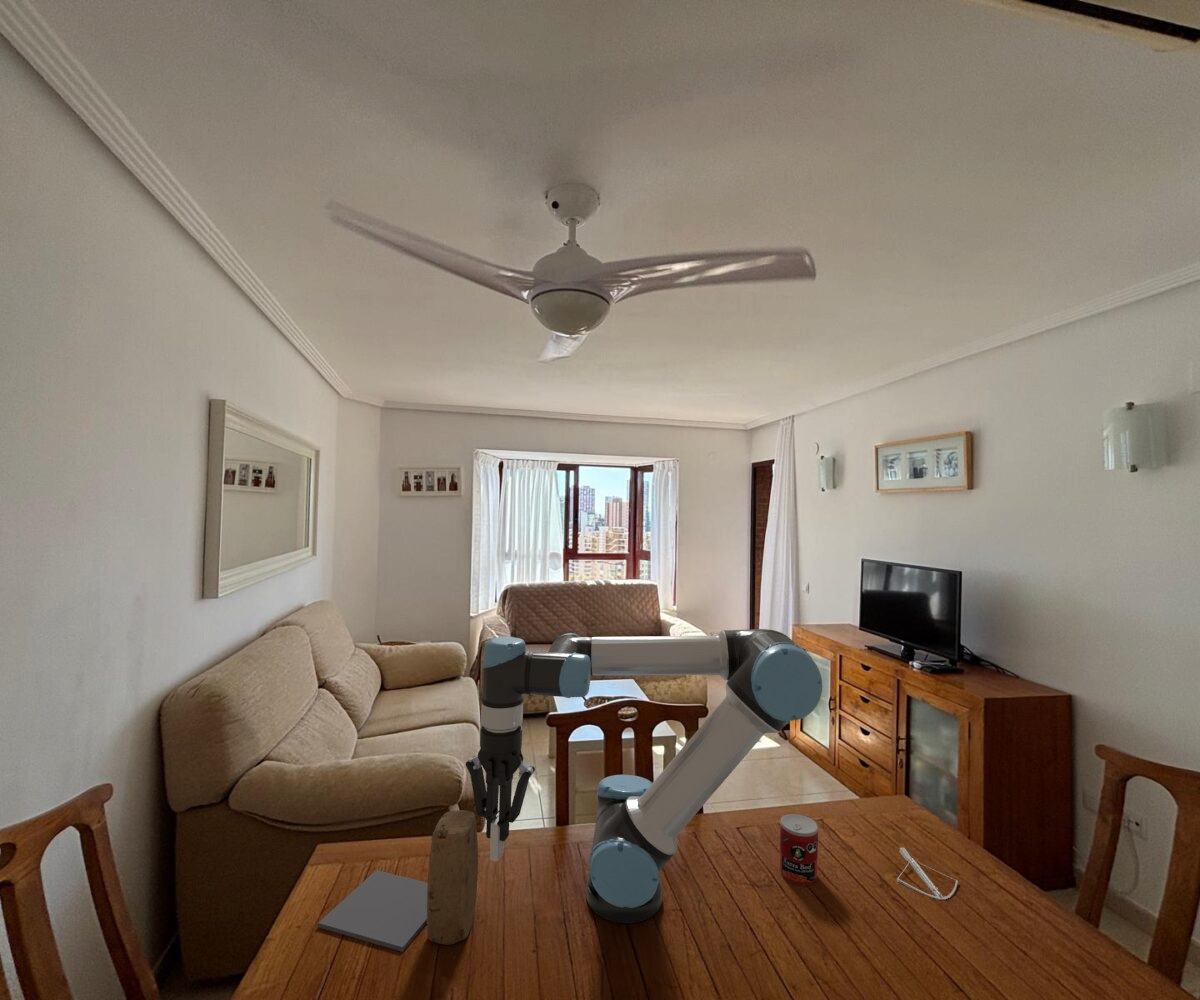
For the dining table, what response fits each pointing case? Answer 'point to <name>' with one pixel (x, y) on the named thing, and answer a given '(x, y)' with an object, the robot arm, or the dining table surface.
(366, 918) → the mat
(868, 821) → the dining table surface
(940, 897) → the crossbow
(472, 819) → the block
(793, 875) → the canned food
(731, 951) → the dining table surface
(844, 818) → the dining table surface
